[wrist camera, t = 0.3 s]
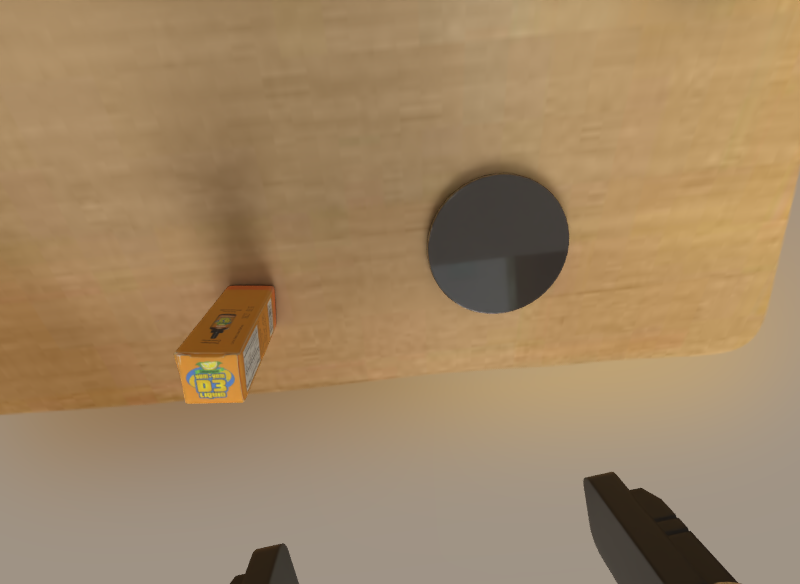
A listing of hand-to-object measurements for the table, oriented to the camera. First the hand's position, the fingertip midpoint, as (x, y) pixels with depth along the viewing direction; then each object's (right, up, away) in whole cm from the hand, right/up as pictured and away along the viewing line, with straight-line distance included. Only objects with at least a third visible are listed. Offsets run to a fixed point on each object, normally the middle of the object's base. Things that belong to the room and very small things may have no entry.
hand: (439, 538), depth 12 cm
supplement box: (-12, +5, +21) cm, 25 cm away
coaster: (+6, +10, +20) cm, 23 cm away
